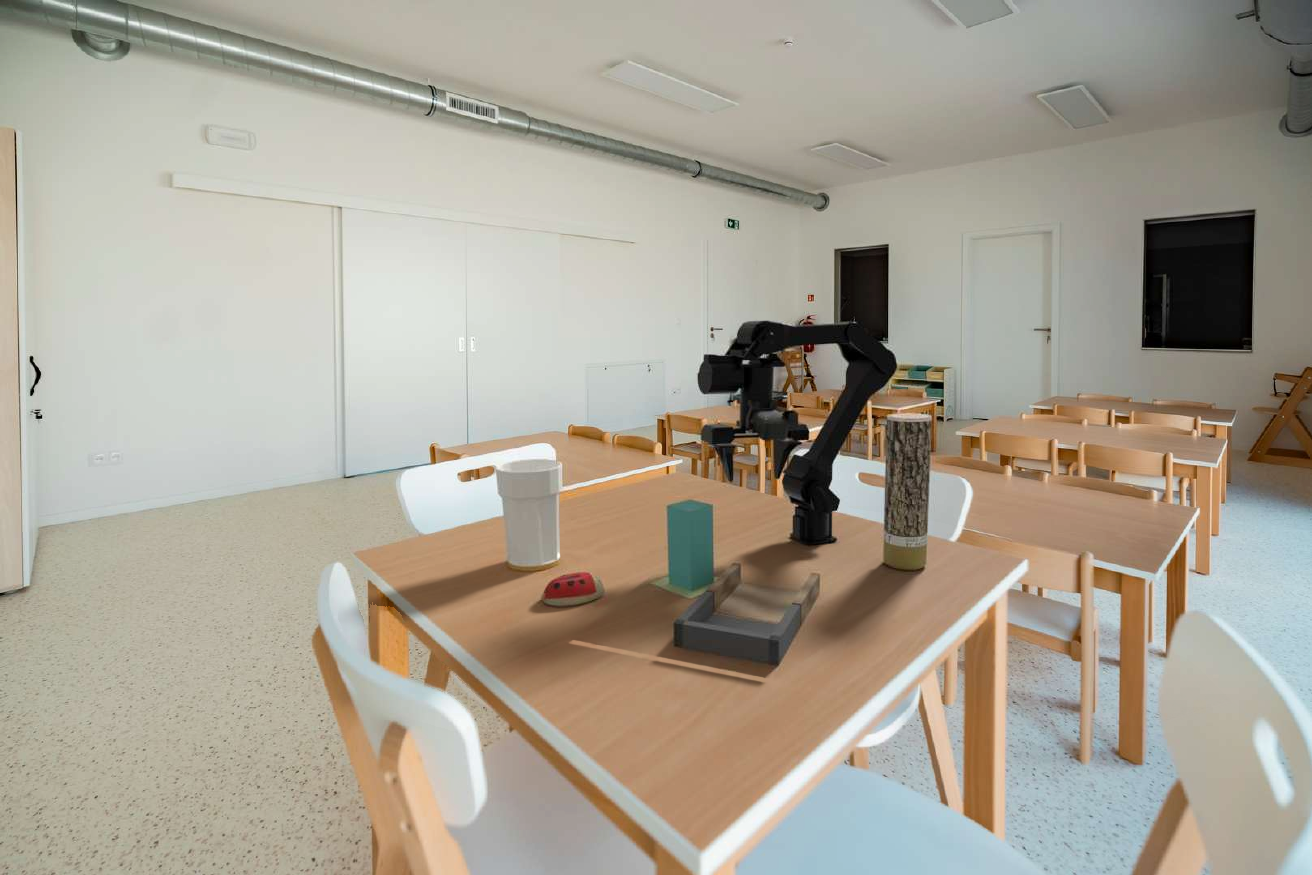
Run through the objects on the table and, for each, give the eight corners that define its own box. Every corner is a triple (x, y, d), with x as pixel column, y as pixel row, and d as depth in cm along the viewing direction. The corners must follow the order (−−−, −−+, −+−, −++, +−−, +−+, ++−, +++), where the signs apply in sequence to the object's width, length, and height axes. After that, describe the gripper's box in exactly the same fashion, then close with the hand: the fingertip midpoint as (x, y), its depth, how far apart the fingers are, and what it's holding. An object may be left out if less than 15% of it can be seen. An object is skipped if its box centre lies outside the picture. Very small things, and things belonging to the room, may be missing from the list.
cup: (580, 560, 119) (575, 463, 117) (527, 578, 111) (521, 475, 108) (540, 547, 127) (535, 456, 124) (488, 563, 119) (482, 466, 116)
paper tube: (927, 560, 115) (933, 413, 111) (924, 573, 109) (930, 419, 105) (885, 555, 118) (889, 412, 114) (880, 568, 112) (884, 418, 108)
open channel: (733, 584, 107) (733, 562, 106) (819, 596, 101) (819, 573, 100) (706, 613, 96) (706, 590, 95) (800, 629, 90) (801, 604, 90)
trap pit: (705, 614, 95) (705, 591, 95) (800, 630, 90) (800, 605, 89) (674, 648, 86) (673, 622, 85) (778, 668, 80) (778, 640, 79)
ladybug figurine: (612, 599, 103) (611, 576, 102) (551, 614, 98) (550, 591, 97) (592, 585, 108) (592, 564, 108) (534, 599, 103) (533, 577, 103)
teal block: (691, 574, 110) (689, 499, 108) (713, 582, 106) (712, 504, 104) (668, 582, 106) (666, 505, 105) (691, 591, 103) (689, 511, 101)
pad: (691, 571, 113) (691, 568, 113) (731, 585, 106) (731, 582, 106) (650, 585, 107) (650, 582, 107) (691, 601, 100) (691, 598, 100)
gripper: (726, 398, 109) (724, 493, 111) (828, 395, 114) (824, 486, 117) (700, 392, 119) (699, 479, 121) (794, 390, 125) (791, 474, 127)
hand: (754, 480), depth 121 cm, fingers open, 9 cm apart
